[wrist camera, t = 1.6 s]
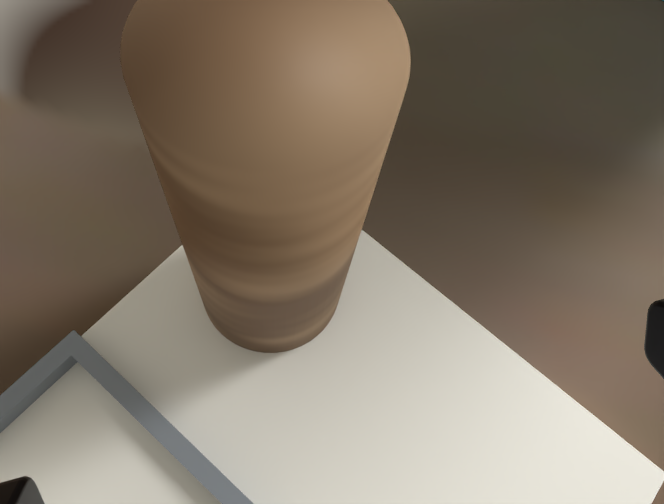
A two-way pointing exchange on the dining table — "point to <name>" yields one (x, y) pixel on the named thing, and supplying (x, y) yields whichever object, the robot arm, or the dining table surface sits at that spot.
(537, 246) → the dining table surface
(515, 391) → the build plate
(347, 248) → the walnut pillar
